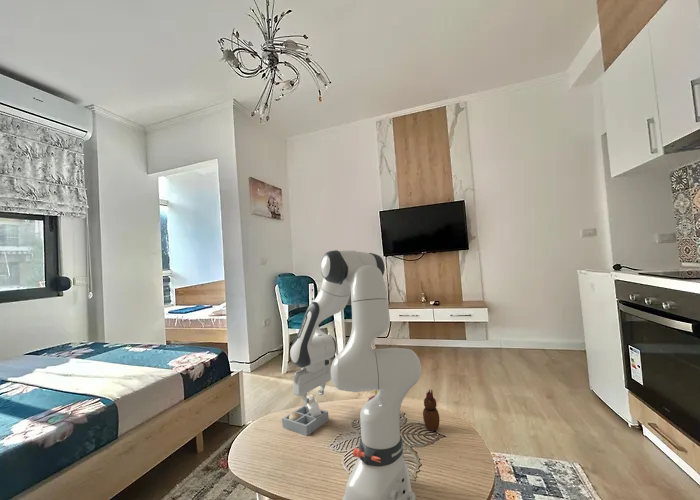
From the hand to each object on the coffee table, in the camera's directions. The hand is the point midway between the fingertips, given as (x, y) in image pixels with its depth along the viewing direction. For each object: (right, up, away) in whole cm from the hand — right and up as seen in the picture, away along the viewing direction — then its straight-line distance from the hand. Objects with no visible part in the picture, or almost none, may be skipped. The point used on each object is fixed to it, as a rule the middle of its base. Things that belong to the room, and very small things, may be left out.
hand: (314, 398), depth 131 cm
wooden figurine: (+46, -7, -10) cm, 47 cm away
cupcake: (+27, -8, +4) cm, 28 cm away
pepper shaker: (+1, -7, +1) cm, 7 cm away
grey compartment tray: (-3, -10, 0) cm, 11 cm away
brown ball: (-8, -10, -1) cm, 12 cm away
